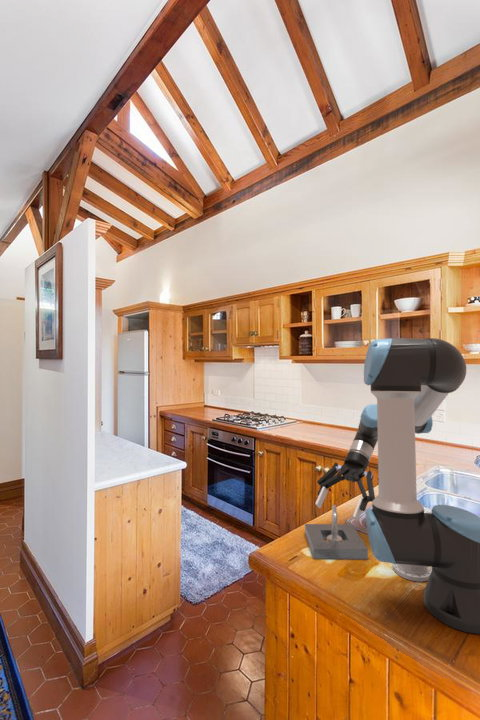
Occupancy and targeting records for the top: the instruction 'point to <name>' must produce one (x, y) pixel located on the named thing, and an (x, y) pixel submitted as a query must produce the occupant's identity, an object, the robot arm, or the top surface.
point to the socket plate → (335, 550)
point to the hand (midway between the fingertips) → (335, 512)
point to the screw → (334, 527)
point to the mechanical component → (412, 572)
